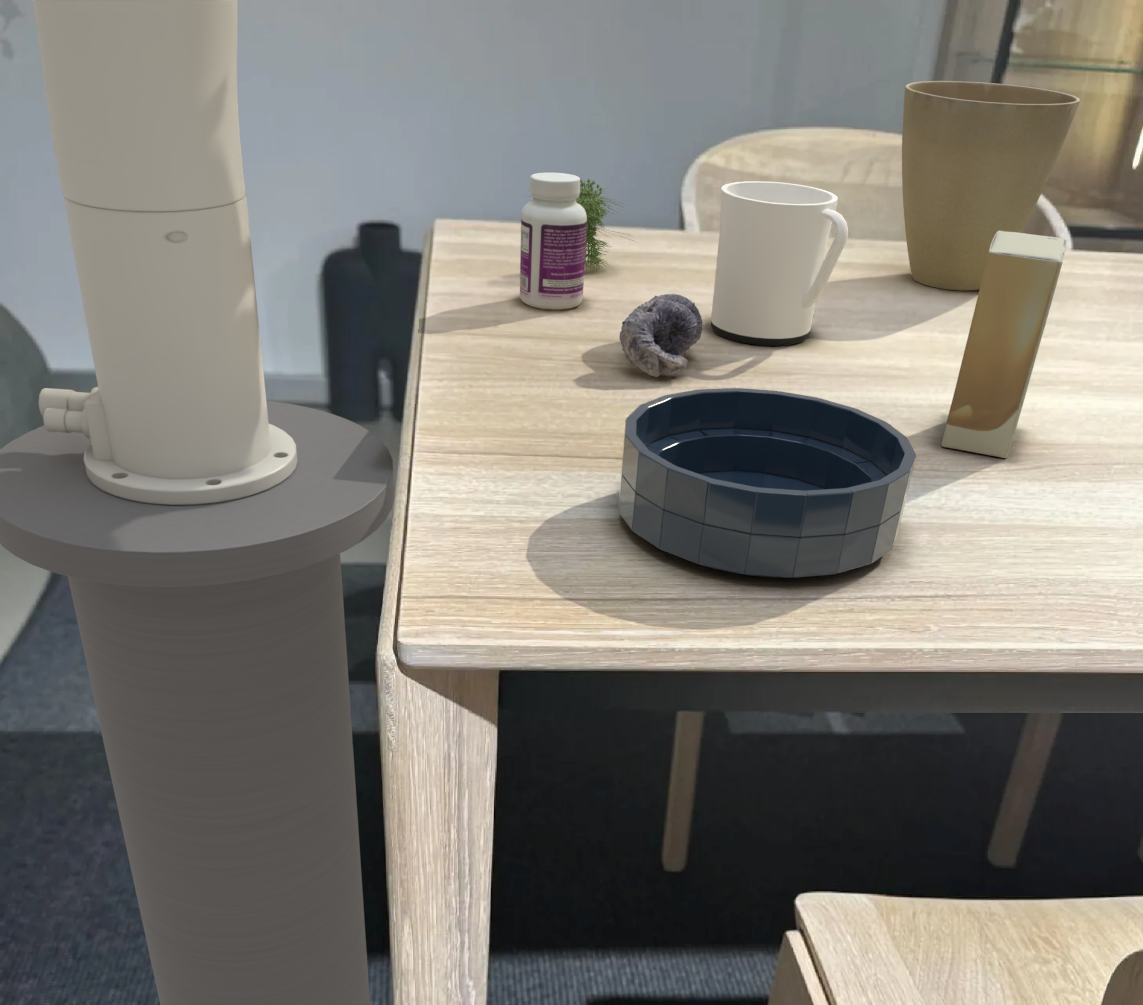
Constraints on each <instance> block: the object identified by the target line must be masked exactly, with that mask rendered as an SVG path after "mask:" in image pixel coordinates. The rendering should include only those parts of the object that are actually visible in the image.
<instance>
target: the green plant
mask: <svg viewBox="0 0 1143 1005" xmlns="http://www.w3.org/2000/svg"><path fill="white" fill-rule="evenodd" d="M594 185H596V186H595V187H593V186H594ZM594 189H595V190H594ZM606 189H609V187H608V188H606ZM603 190H604V188H602V187H600V184H599V183H598V184H596V181H595V180H592V181H591V179H590V178H587V180H586V181H585V179H584V180H583V179H582V178H580V194H579V197H578V198H577V199H576V203H578V204H580V205H581V206H582V207H583V208H584V210H585V212H586V215H587V226H586V247H585V269H586V270H585V271H586V272H588V269H587V268H588V267H589V268H590V270H592V267H593V271H594V272H595V271H599V268H600V267H601V268H602V269H604V267H607V268H608V266H606V265H607V260H605V259H604V258H602V257H603V256H606V254H605V253H608V250H609V251H610V249H608V248H612V245H610V244H609V243H608V242H607V241H604V240H600V239H601V238H600V237H599V238H598V236H599V234H598V233H601V236H602V234H603V235H605V236H606V237H608V235H606V234H605V233H608V234H612V235H615V236H618V237H620V238H623V239H626V240H630V241H633V242H636V243H639V242H638V241H635V240H633V239H630V238H627V237H624V236H621V235H616V234H614V233H615V231H614V229H613V228H612V229H611V230H609V229H607V230H606V228H605V224H604V223H603V221H602V219H603V218H604V217H607V215H608V216H610V217H611V215H609V213H611V214H613V215H614V213H613V212H611V211H609V210H612V211H614V209H613V208H615V209H617V210H620V211H624V212H625V210H623V209H620V208H618V207H615V206H619V207H621V208H623V205H624V206H625V205H626V203H623V205H621V202H618V203H616V200H617V199H615V198H611V199H609V198H607V197H605V195H601V194H603V193H606V192H607V190H605V191H603ZM622 196H623V197H624V196H625V195H622ZM519 197H520V196H519ZM521 197H532V196H531V195H530V196H521ZM532 198H533V197H532ZM624 201H627V202H628V200H626V199H625V200H624ZM608 203H610V204H613V205H615V206H612V205H610V204H608ZM619 204H620V205H619ZM628 206H630V207H631V205H630V204H628ZM605 207H606V208H605ZM611 207H612V208H611ZM639 208H640V209H641V208H642V207H641V206H639ZM644 209H646V208H645V207H644ZM616 213H618V214H619V212H617V211H616ZM608 231H609V232H608ZM597 232H598V233H597ZM604 232H605V233H604ZM612 232H614V233H612ZM616 233H618V234H620V232H619V231H618V232H617V231H616ZM621 234H622V235H625V233H623V232H621ZM626 235H627V236H629V233H626ZM630 236H633V235H631V234H630ZM610 239H612V241H613V240H614V241H615V239H613V238H611V237H610ZM603 252H604V253H603ZM602 265H603V266H604V267H603V266H602ZM595 268H596V270H595Z"/></svg>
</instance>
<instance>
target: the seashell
mask: <svg viewBox="0 0 1143 1005" xmlns="http://www.w3.org/2000/svg"><path fill="white" fill-rule="evenodd" d="M703 323H704V321H703V319H702V315H701V313H700V310H699V308H698V307H697V306H696V305H695V302H693V301H692V300H690V298H688V297H686V296H683V295H681V294H679V293H678V294H676V293H664V294H660V295H654V296H653V297H652V298H650V299H649V300H648V301H645V302H644V303H641V304H640V305H639V306H637V307H636V308H634V309H633V310H632V312H631V313H629V315H628V316H627V317H626V318H625V320H623V321H622V322H621V330H620V332H619V342H620V345H621V351H622V352H624V354H625V357H626V359H627V360H629V362H630V364H631V365H632V366H635V367H637V368H639V369H640V370H641V371H643V372H645V373H646V374H647V375H649V376H652V377H654V378H655V377H656V378H658V377H659V376H660V375H661V374H662V373H663V367H665V368H666V369H668V370H669V371H670V373H671V374H673V373H674V374H676V373H679V372H681V371H682V370H685V369H686V368H687V366H688V359H687V358H686V357H684V356H683V355H685V353H686V352H688V350H690V348H691V347H692V346H693V345H695V344H697V342H698V341H699V340H700V339H701V336H702V333H703Z"/></svg>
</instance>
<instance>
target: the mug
mask: <svg viewBox="0 0 1143 1005" xmlns="http://www.w3.org/2000/svg"><path fill="white" fill-rule="evenodd" d="M838 203H839V198H838V196H837V195H836V193H835V194H834V193H833V192H831V191H828V190H825V189H821V188H819V187H813V186H809V185H805V184H804V185H802V184H798V183H789V182H778V181H766V180H765V181H764V180H763V181H762V180H751V181H750V180H747V181H735V182H730V183H729V182H728V183H726V184H723V185H722V186H721V189H720V211H719V212H720V213H719V234H718V245H717V256H716V264H715V274H714V275H715V276H714V285H713V295H712V306H711V317H710V327H711V329H712V331H713V332H714V333H715V334H717V335H719V336H720V337H722V338H725V339H727V340H730V341H734V342H738V343H742V344H748V345H754V346H755V345H756V346H771V347H780V346H781V347H782V346H792V345H795V344H796V345H797V344H800V343H802V342H804V341H806V340H807V338H808V337H809V336H810V334H811V329H812V324H813V318H814V315H815V314H814V313H815V309H816V303H817V300H818V299H819V297H820V296H821V295H822V294H823V292H824V289H825V288H826V285H827V283H828V281H829V279H830V277H831V275H832V273H833V271H834V269H835V267H836V265H837V262H838V261H839V258H840V256H841V253H842V252H843V250H844V248H845V246H846V244H847V241H848V237H849V229H848V222H847V220H846V219H845V218H844V216H843V215H842V214H841V213H839V212H838V211H837V206H838ZM832 225H833V226H834V230H835V232H834V238H833V240H832V242H831V244H830V246H829V248H828V250H827V246H828V242H829V237H830V234H831V229H832ZM826 251H827V252H826Z"/></svg>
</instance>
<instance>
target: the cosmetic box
mask: <svg viewBox="0 0 1143 1005" xmlns="http://www.w3.org/2000/svg"><path fill="white" fill-rule="evenodd" d="M1067 243H1068V240H1067V239H1066V238H1063V237H1062V238H1061V237H1056V236H1050V235H1049V236H1048V235H1039V234H1032V233H1024V232H1021V233H1018V232H1005V231H998V232H997V233H996V234H995V236H994V238H993V240H992V243H991V246H990V249H989V253H988V257H987V261H986V265H985V269H984V273H983V277H982V281H981V286H980V290H978V294H977V299H976V302H975V306H974V310H973V315H972V318H971V323H970V328H969V331H968V336H967V339H966V344H965V347H964V351H963V355H962V360H961V363H960V367H959V372H958V376H957V380H956V384H955V388H954V392H953V395H952V400H951V403H950V408H949V411H948V415H947V420H946V423H945V428H944V432H943V436H942V440H941V447H942V448H948V449H953V450H959V451H965V452H970V453H975V454H981V455H987V456H992V457H998V458H1002V459H1007V458H1008V457H1009V454H1010V451H1011V449H1012V444H1013V441H1014V438H1015V433H1016V430H1017V428H1018V423H1019V420H1020V416H1021V413H1022V409H1023V406H1024V402H1025V399H1026V395H1027V391H1028V389H1029V384H1030V381H1031V378H1032V373H1033V371H1034V366H1035V364H1036V363H1035V362H1036V360H1037V356H1038V352H1039V348H1040V346H1041V342H1042V338H1043V335H1044V331H1045V328H1046V324H1047V320H1048V316H1049V315H1050V314H1049V313H1050V310H1051V307H1052V303H1053V300H1054V296H1055V292H1056V288H1057V284H1058V281H1059V278H1060V273H1061V270H1062V266H1063V262H1064V258H1065V254H1066V249H1067Z"/></svg>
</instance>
